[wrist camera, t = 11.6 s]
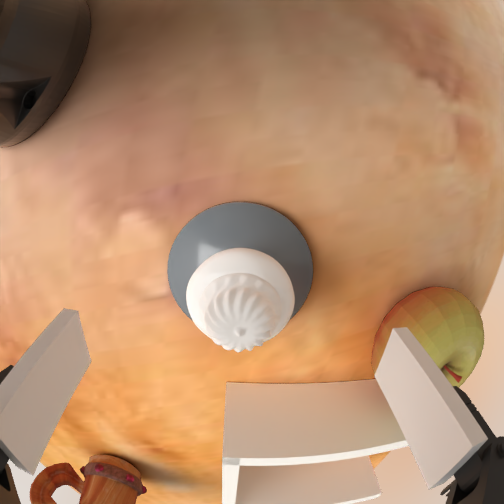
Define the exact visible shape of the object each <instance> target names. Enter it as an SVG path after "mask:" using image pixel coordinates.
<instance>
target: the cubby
mask: <svg viewBox="0 0 504 504" xmlns="http://www.w3.org/2000/svg"><path fill="white" fill-rule="evenodd" d="M406 446H409V445H408V443H407V441H406V438H405V436H404V434H403V432H402V430H401V428H400V426H399V424H398V422H397V420H396V418H395V416H394V414H393V412H392V410H391V408H390V406H389V404H388V402H387V400H386V398H385V396H384V394H383V392H382V390H381V388H380V387H379V385H378V382H377V380H376V379H368V380H357V381H345V382H329V383H302V384H262V383H235V382H226V397H225V416H224V435H223V457H222V504H351V503H356V502H361V501H364V500H369V499H373V498H377V497H379V496H380V495H381V493H382V492H381V489H380V486H379V483H378V480H377V477H376V475H375V472H374V469H373V466H372V463H371V461H370V458H369V455H372V454H377V453H382V452H386V451H390V450H395V449H398V448H403V447H406Z"/></svg>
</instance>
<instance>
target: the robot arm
mask: <svg viewBox="0 0 504 504" xmlns="http://www.w3.org/2000/svg"><path fill="white" fill-rule="evenodd" d="M90 27H91V17H90V10H89V7H88V4H87V2H86V1H85V0H0V148H1V147H9V146H13V145H15V144H18V143H20V142H22V141H23V140H25V139H26V138H28V137H29V136H31V135H32V134H33V133H34V132H35V131H37V130H38V129H39V128H40V127H41V126H42V125H43V124H44V123H45V121H46V120H47V119H48V118H49V117H50V116H51V114H52V113H53V112H54V111H55V109H56V108H57V107H58V105H59V104H60V102H61V101H62V99H63V98H64V96H65V95H66V93H67V91H68V89H69V88H70V86H71V84H72V82H73V80H74V78H75V76H76V74H77V72H78V70H79V68H80V65H81V63H82V60H83V57H84V55H85V51H86V48H87V44H88V40H89V35H90ZM90 363H91V358H90V355H89V351H88V348H87V344H86V341H85V337H84V333H83V329H82V325H81V321H80V317H79V313H78V311H76V310H70V309H63V310H62V311H61V312H60V313H59V314H58V315H57V316H56V318H55V319H54V320H53V321H52V322H51V323H50V324H49V325H48V327H47V328H46V329H45V330H44V331H43V332H42V333H41V335H40V336H39V337H38V338H37V339H36V340H35V342H34V343H33V344H32V345H31V346H30V347H29V349H28V350H27V351H26V352H25V354H24V355H23V356H22V357H21V358H20V360H19V361H18V362H17V363H16V365H15V366H12V365H10V366H9V367H7V368H6V369H4V370H3V371H1V372H0V504H21V503H20V500H19V497H18V494H17V491H16V487H15V484H14V480H13V477H12V473H11V469H10V467H9V465H8V464H7V462H8V460H9V459H10V460H11V461H12V462H13V463H14V464H15V465H16V466H17V467H18V468H20V469H22V470H24V471H25V472H28V473H29V474H31V475H34V473H35V470H36V468H37V466H38V463H39V461H40V459H41V457H42V455H43V452H44V450H45V448H46V446H47V444H48V442H49V440H50V438H51V436H52V434H53V432H54V430H55V428H56V426H57V424H58V422H59V420H60V418H61V416H62V414H63V412H64V410H65V408H66V406H67V404H68V402H69V401H70V399H71V397H72V395H73V393H74V391H75V390H76V388H77V386H78V384H79V382H80V381H81V379H82V377H83V375H84V374H85V372H86V370H87V368H88V367H89V365H90ZM374 376H375V378H376V380H377V382H378V384H379V386H380V388H381V390H382V392H383V394H384V396H385V398H386V400H387V402H388V404H389V406H390V408H391V410H392V412H393V414H394V416H395V418H396V420H397V422H398V424H399V426H400V428H401V430H402V432H403V434H404V436H405V438H406V441H407V443H408V445H409V447H410V449H411V451H412V453H413V456H414V458H415V460H416V462H417V464H418V467H419V469H420V471H421V473H422V476H423V478H424V480H425V482H426V485H427V487H428V489H431V488H434V487H436V486H438V485H441V484H443V483H445V482H446V481H447V480H448V479H449V478H450V477H451V476H453V475H454V476H455V478H456V479H455V480H454V481H453V482H452V483H451V484H450V485H448V486H447V487H446V488H445V489H444V490H443V491H442V492H441V495H443V494H445V493H446V492H447V491H448V490H449V489H450V492H449V493H448V494H447V495H446V496H448V498H447V501H446V504H504V437H498V438H497V437H496V436H495V435H494V434H493V432H492V431H491V429H490V428H489V426H488V425H487V423H486V422H485V420H484V419H483V417H482V416H481V414H480V413H479V411H477V410H476V407H475V406H474V404H472V403H471V400H470V399H469V397H468V396H467V395H466V393H465V392H463V391H462V390H461V389H459V388H458V387H457V386H453V387H452V385H451V384H450V382H449V381H448V380H447V378H446V377H445V376H444V374H443V373H442V372H441V370H440V369H439V368H438V366H437V365H436V364H435V362H434V361H433V360H432V358H431V357H430V356H429V354H428V353H427V352H426V351H425V349H424V348H423V347H422V345H421V344H420V343H419V342H418V340H417V339H416V338H415V337H414V335H413V334H412V333H411V332H410V330H409V329H408V328H407V327H403V328H393V329H392V332H391V335H390V338H389V340H388V343H387V346H386V348H385V351H384V353H383V356H382V358H381V361H380V363H379V366H378V368H377V370H376V373H375V375H374Z"/></svg>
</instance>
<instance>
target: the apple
mask: <svg viewBox="0 0 504 504" xmlns="http://www.w3.org/2000/svg"><path fill="white" fill-rule="evenodd" d="M403 327H407V328H408V329H409V330H410V332H411V333H412V334H413V335H414V337H415V338H416V339H417V340H418V342H419V343H420V344H421V345H422V347H423V348H424V349H425V351H426V352H427V353H428V354H429V356H430V357H431V358H432V360H433V361H434V362H435V364H436V365H437V366H438V368H439V369H440V370H441V372H442V373H443V374H444V376H445V377H446V378H447V380H448V381H449V382H450V384H451V385H452V387H453V386H457V387H458V388H459V387H460V386H461V385H462V384H463V383H464V382H465V380H466V379H467V378H468V377H469V375H470V374H471V373H472V371H473V370H474V368H475V366H476V364H477V362H478V360H479V358H480V356H481V353H482V349H483V345H484V330H483V323H482V319H481V316H480V313H479V310H478V309H477V308H476V307H475V306H474V305H473V304H472V303H471V302H470V301H469V300H468V299H467V298H466V297H465V296H464V295H463V294H461V293H460V292H458V291H456V290H454V289H451V288H444V287H428V288H425V289H422V290H419V291H416V292H413V293H411V294H410V295H408V296H407V297H405V298H404V299H403V300H401V301H400V302H398V303H397V304H396V305H395V306H394V307H393V308H392V310H391V311H390V312H389V313H388V314H387V315H386V316H385V318H384V320H383V322H382V324H381V326H380V328H379V330H378V332H377V334H376V336H375V340H374V345H373V351H372V361H371V364H372V368H373V371H374V375H375V373H376V370H377V368H378V366H379V363H380V361H381V358H382V356H383V353H384V351H385V348H386V346H387V343H388V340H389V338H390V335H391V332H392V329H393V328H403ZM378 385H379V384H378ZM379 387H380V386H379Z"/></svg>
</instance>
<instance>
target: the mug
mask: <svg viewBox="0 0 504 504" xmlns="http://www.w3.org/2000/svg"><path fill="white" fill-rule="evenodd" d="M80 471H81V473H82V474H83V475H84V477H85V481H84V482H83V481H82V480H81V478H80V477H79V476H78V474H77V473H76V472H75V471H74V469H73V468H72V466H71V465H70V464H69V463H59V464H54V465H52V466H49V467H47V468H45V469H44V470H43V471H42V472H41V473H39V475H37V477H36V478H35V480H34V482H33V483H32V484H31V489H30V500H31V504H56V502H55V501H54V500H53V499H52V497H51V496H52V494H53V493H54V491H55V490H56V488H58V487H60V486H62V485H70V486H72V487H74V488H75V489H76V490H77V491H79V492H80V493H81V497H80V502H79V504H135V503H136V499H137V496H139V495H141V494H144V493H146V492H147V489H146V487H144V486H143V485H142V482H141V474H140V472H139V471H138V470H137V469H136V468H135V467H134V466H132V465H131V464H130V463H128V462H127V461H125V460H123V459H120V458H118V457H114V456H109V455H94V456H91V457H90V459H89V463H88V464H87V465H86V466H85V467H84V466H83V467H82V468H81V469H80Z"/></svg>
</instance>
